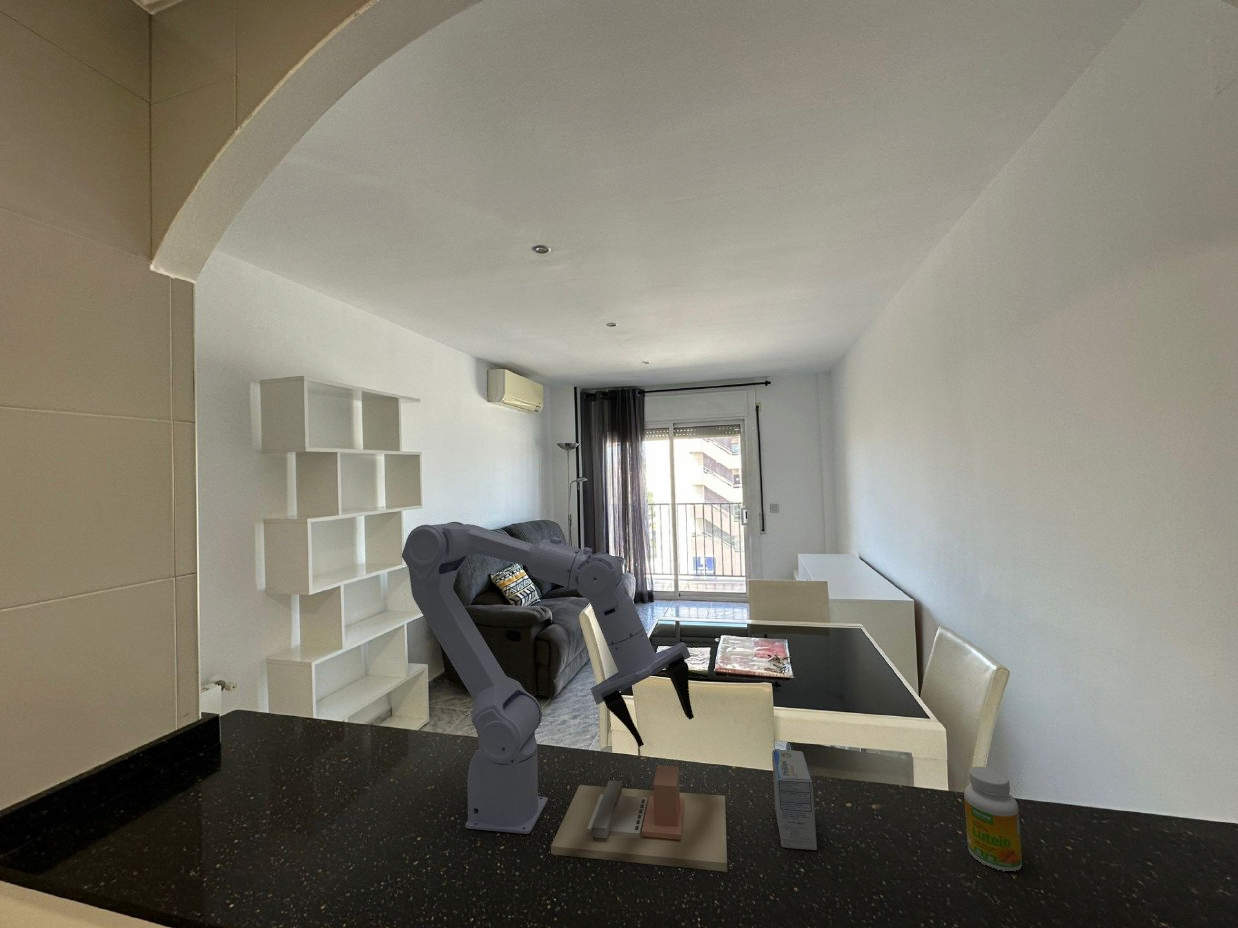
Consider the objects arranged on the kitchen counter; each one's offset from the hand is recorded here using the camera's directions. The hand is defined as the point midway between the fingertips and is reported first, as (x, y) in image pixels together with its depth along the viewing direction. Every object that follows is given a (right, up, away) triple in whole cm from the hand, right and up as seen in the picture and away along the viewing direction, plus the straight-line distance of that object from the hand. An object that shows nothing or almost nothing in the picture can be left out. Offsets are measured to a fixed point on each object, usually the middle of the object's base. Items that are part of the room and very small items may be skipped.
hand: (665, 729), depth 70 cm
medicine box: (+17, -13, -2) cm, 21 cm away
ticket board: (-3, -13, 0) cm, 13 cm away
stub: (0, -12, -1) cm, 12 cm away
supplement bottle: (+39, -12, -8) cm, 42 cm away
